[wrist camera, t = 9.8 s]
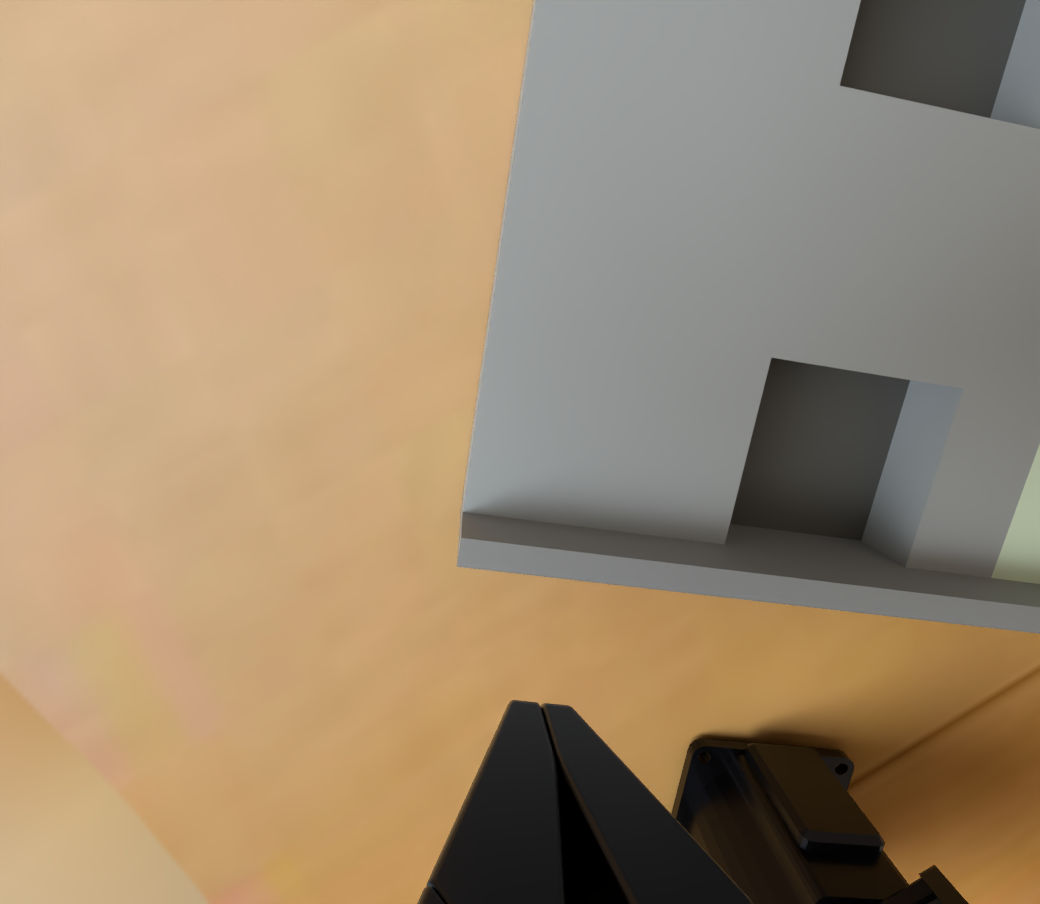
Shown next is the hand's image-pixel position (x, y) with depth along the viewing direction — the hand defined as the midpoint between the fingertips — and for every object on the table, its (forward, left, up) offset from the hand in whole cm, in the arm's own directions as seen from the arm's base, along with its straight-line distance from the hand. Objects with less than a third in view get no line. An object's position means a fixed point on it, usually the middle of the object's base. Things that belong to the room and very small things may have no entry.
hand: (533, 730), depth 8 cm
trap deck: (+9, -11, -12) cm, 18 cm away
